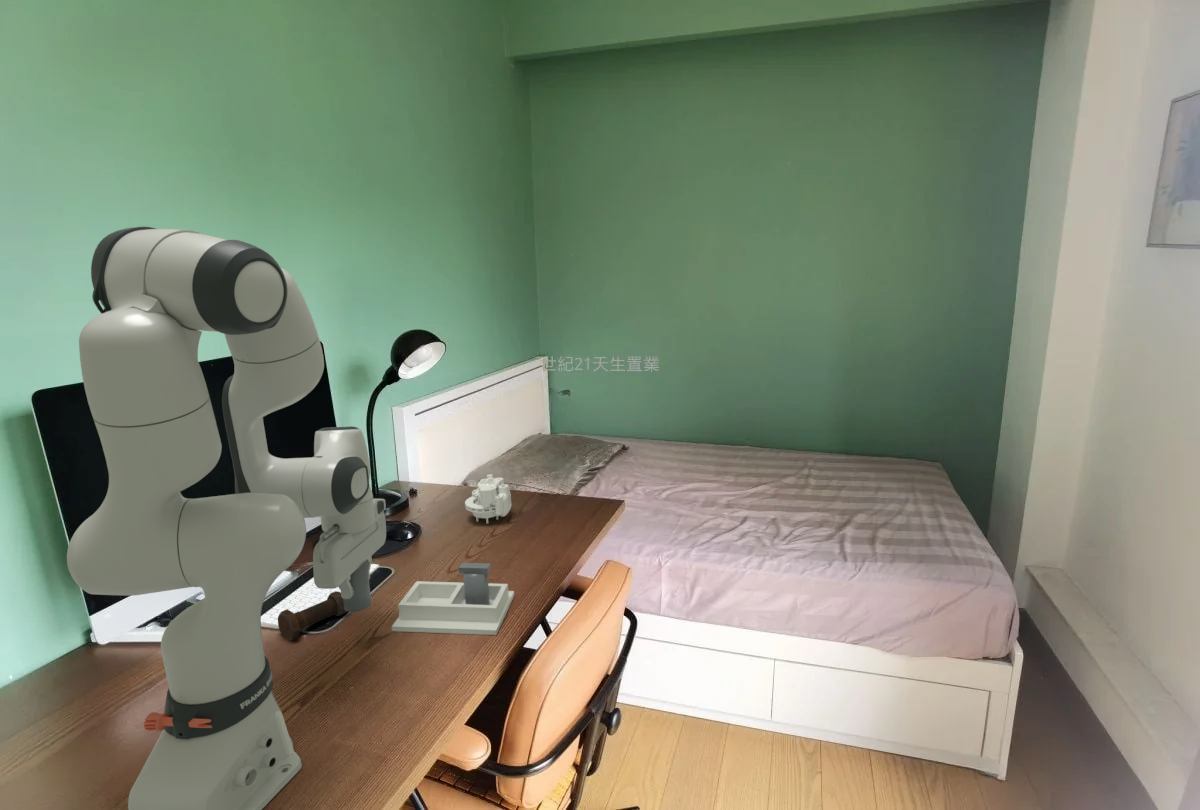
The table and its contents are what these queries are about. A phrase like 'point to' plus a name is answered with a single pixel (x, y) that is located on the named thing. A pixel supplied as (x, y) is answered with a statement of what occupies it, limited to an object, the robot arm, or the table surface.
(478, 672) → the table surface
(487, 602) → the housing
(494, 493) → the mechanical part
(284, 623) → the bolt
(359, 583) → the grey upright cylinder
